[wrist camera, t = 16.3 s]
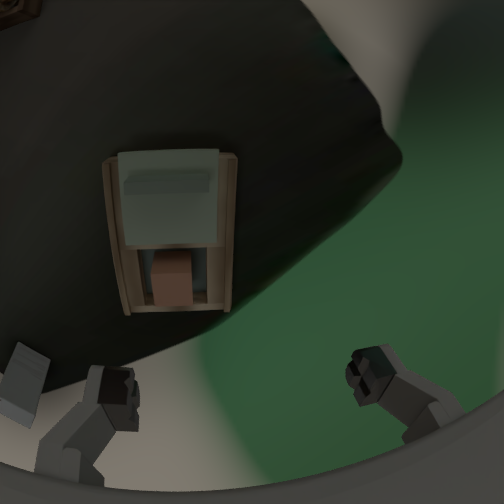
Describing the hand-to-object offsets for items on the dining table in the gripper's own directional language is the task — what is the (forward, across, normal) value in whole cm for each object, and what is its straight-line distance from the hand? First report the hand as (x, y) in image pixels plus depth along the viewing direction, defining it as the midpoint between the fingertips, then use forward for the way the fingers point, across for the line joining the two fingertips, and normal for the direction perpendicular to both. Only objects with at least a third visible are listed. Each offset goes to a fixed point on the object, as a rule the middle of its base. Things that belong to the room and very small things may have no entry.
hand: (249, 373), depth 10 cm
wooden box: (+27, +4, +7) cm, 28 cm away
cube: (+26, +4, +11) cm, 29 cm away
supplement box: (+27, +34, +32) cm, 54 cm away
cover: (+23, +4, +1) cm, 24 cm away
